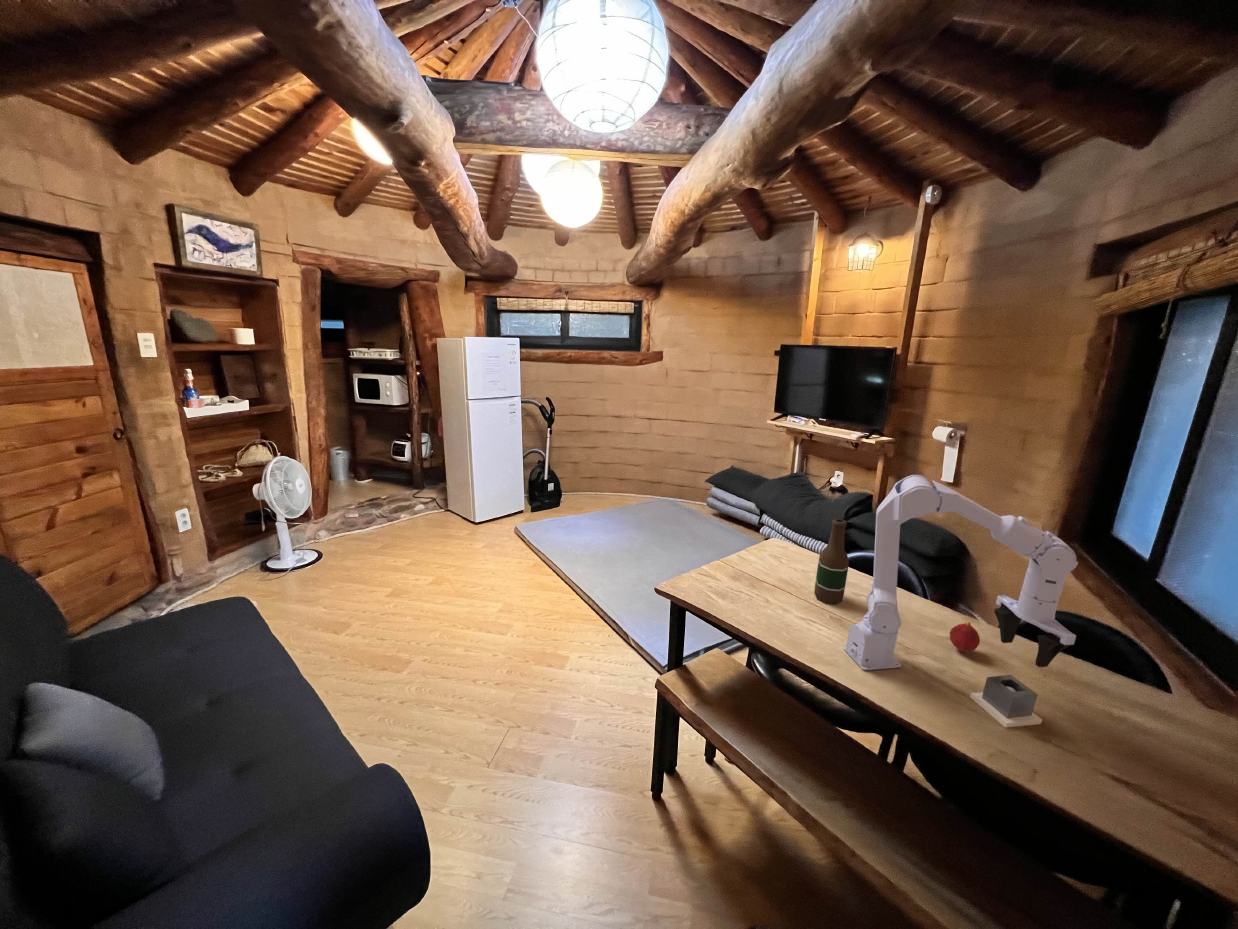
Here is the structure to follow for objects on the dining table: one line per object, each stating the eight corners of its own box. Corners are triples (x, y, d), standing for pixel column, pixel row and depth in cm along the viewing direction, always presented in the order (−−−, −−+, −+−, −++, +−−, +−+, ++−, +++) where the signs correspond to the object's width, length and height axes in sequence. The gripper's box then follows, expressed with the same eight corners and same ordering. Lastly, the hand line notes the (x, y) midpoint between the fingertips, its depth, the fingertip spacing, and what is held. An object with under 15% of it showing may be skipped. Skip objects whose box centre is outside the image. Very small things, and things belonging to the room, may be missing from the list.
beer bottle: (844, 596, 137) (857, 519, 131) (840, 608, 131) (853, 528, 125) (816, 588, 141) (827, 513, 135) (811, 600, 135) (822, 521, 129)
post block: (1005, 727, 91) (1011, 706, 90) (970, 697, 99) (975, 677, 98) (1041, 723, 92) (1047, 702, 91) (1003, 694, 100) (1009, 674, 99)
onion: (981, 660, 110) (988, 630, 108) (953, 657, 112) (960, 627, 109) (968, 645, 116) (975, 616, 114) (942, 642, 117) (949, 613, 115)
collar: (1007, 718, 92) (1013, 697, 91) (981, 697, 97) (987, 677, 96) (1031, 715, 93) (1037, 694, 92) (1004, 695, 98) (1010, 674, 97)
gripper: (1097, 614, 88) (1077, 676, 91) (1022, 576, 102) (1007, 631, 105) (1064, 616, 87) (1045, 678, 90) (993, 577, 101) (979, 633, 104)
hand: (1023, 653), depth 98 cm, fingers open, 7 cm apart
